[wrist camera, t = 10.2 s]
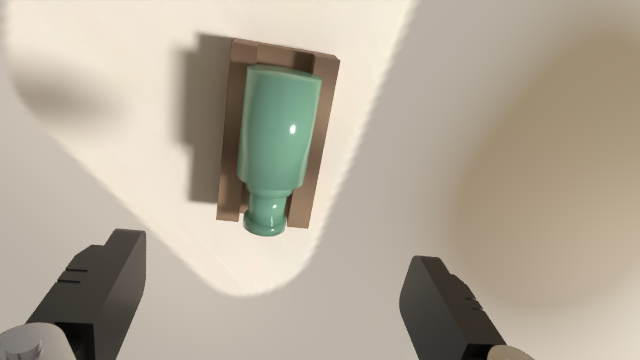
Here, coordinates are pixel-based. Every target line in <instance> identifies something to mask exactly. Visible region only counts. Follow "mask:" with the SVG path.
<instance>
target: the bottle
mask: <svg viewBox="0 0 640 360" xmlns="http://www.w3.org/2000/svg"><path fill="white" fill-rule="evenodd" d="M321 84H322V78H321V77H319V76H317V75H315V74H312V73H309V72H306V71H302V70H298V69H293V68H288V67H282V66H275V65H263V64H256V65H249V66H247V73H246V83H245V93H244V103H243V113H242V123H241V133H240V143H239V153H238V163H237V176H238V177H239V178H240V179H241V180H242V181H243V182H245V183H246V188H247V190H248V191H249V192H250V197H249V205H248V210H246V211H245V213H244V219H243V226H244V228H245V229H246V230H247V231H249V232H250V233H253V234H255V235H259V236H275V235H278V234H281V233H282V232H283V231H284V229H285V224H286V216H285V215H284V210H285V204H286V197H287V196H289V195H291V194H292V191H293V189H296V188H298V187H300V186H302V185H303V184H304V181H305V175H306V169H307V164H308V158H309V152H310V147H311V141H312V135H313V130H314V124H315V118H316V112H317V107H318V101H319V95H320V90H321Z"/></svg>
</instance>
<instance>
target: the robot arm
mask: <svg viewBox="0 0 640 360" xmlns="http://www.w3.org/2000/svg"><path fill="white" fill-rule="evenodd" d="M145 280H146V233H145V231H140V230H129V229H115V230H114V231H113V233H112V234H111V236H110V238H109V239H108V241H107V242H106V244H105V245H104V246H101V245H91V246H89V247H88V248H86V249H84V250H83V251H81V252H80V253H78V254H77V255H75V256H74V258H73V259H72V261H71V262H70V263H69V265H68V266H67V267H66V270H65V271H64V272H63V273H62V274H61V276H60V277H59V278H58V281H57V283H55V284H54V285H53V287H52V288H51V289H50V291H49V292H48V293H47V295H46V296H45V297H44V299H43V300H42V301H41V303H40V304H39V305H38V307H37V308H36V310H35V311H34V312H33V314H32V315H31V316H30V318H29V319H28V320H27V322H26V323H25V324H24V325H20V326H16V327H14V328H11V329H9V330H7V331H5V332H3V333H1V334H0V360H116V358H117V355H118V353H119V350H120V348H121V346H122V343H123V341H124V338H125V336H126V334H127V331H128V329H129V327H130V324H131V322H132V319H133V317H134V315H135V312H136V310H137V307H138V305H139V303H140V300H141V298H142V295H143V291H144V286H145ZM399 305H400V306H399V307H400V313H401V316H402V318H403V321H404V323H405V326H406V328H407V331H408V333H409V336H410V338H411V341H412V343H413V346H414V348H415V350H416V353H417V355H418V358H419V360H534V359H533V358H532V357H531V356H529V355H528V354H526V353H525V352H523V351H521V350H519V349H517V348H514V347H511V346H507V344H506V343H505V341H504V340H503V338H502V337H501V335H500V334H499V332H498V331H497V329H496V328H495V326H494V325H493V323H492V322H491V320H490V319H489V317H488V316H487V314H486V313H485V312H484V311H483V308H482V307H481V305H480V304H479V302H478V301H476V298H475V296H474V295H473V293H472V292H471V291H470V289H469V287H468V286H467V285H466V284H464V282H462V281H461V280H460V279H459V278H457V276H455V275H453V274H450V273H449V271H448V270H447V268H446V266H445V265H444V263H443V262H442V261H441V259H440V258H438V257H427V256H414V257H413V258H412V260H411V263H410V266H409V269H408V272H407V275H406V278H405V282H404V284H403V287H402V290H401V294H400V300H399Z"/></svg>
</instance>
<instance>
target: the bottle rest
mask: <svg viewBox="0 0 640 360" xmlns="http://www.w3.org/2000/svg"><path fill="white" fill-rule="evenodd" d="M256 64H263V65H275V66H282V67H288V68H293V69H298V70H302V71H306V72H309V73H312V74H315V75H317V76H319V77H321V78H322V84H321V90H320V95H319V101H318V107H317V112H316V118H315V124H314V130H313V135H312V141H311V147H310V152H309V158H308V164H307V169H306V175H305V181H304V184H303V185H302V186H300V187H298V188H296V189H293V191H292V194H291V195H289V196H287V197H286V204H285V210H284V215H285V216H286V218H287V227H297V228H307V229H308V226H309V221H310V216H311V211H312V206H313V200H314V195H315V190H316V185H317V179H318V174H319V169H320V164H321V159H322V153H323V148H324V143H325V138H326V132H327V127H328V122H329V117H330V112H331V106H332V101H333V96H334V91H335V85H336V80H337V75H338V70H339V65H340V60H339V59H338V58H337V57H336V56H334V55H329V54H323V53H317V52H311V51H306V50H300V49H294V48H288V47H283V46H277V45H271V44H265V43H259V42H254V41H248V40H242V39H236V38H235V39H234V40H233V41H232V45H231V57H230V68H229V79H228V91H227V102H226V114H225V125H224V136H223V148H222V159H221V171H220V182H219V193H218V205H217V216H216V220H224V221H234V222H238V220H239V213H245V211H246V210H248V205H249V197H250V192H249V191H248V190H247V188H246V183H245V182H243V181H242V180H241V179H240V178H239V177H238V176H237V163H238V153H239V143H240V133H241V123H242V113H243V103H244V93H245V83H246V73H247V66H249V65H256Z"/></svg>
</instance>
